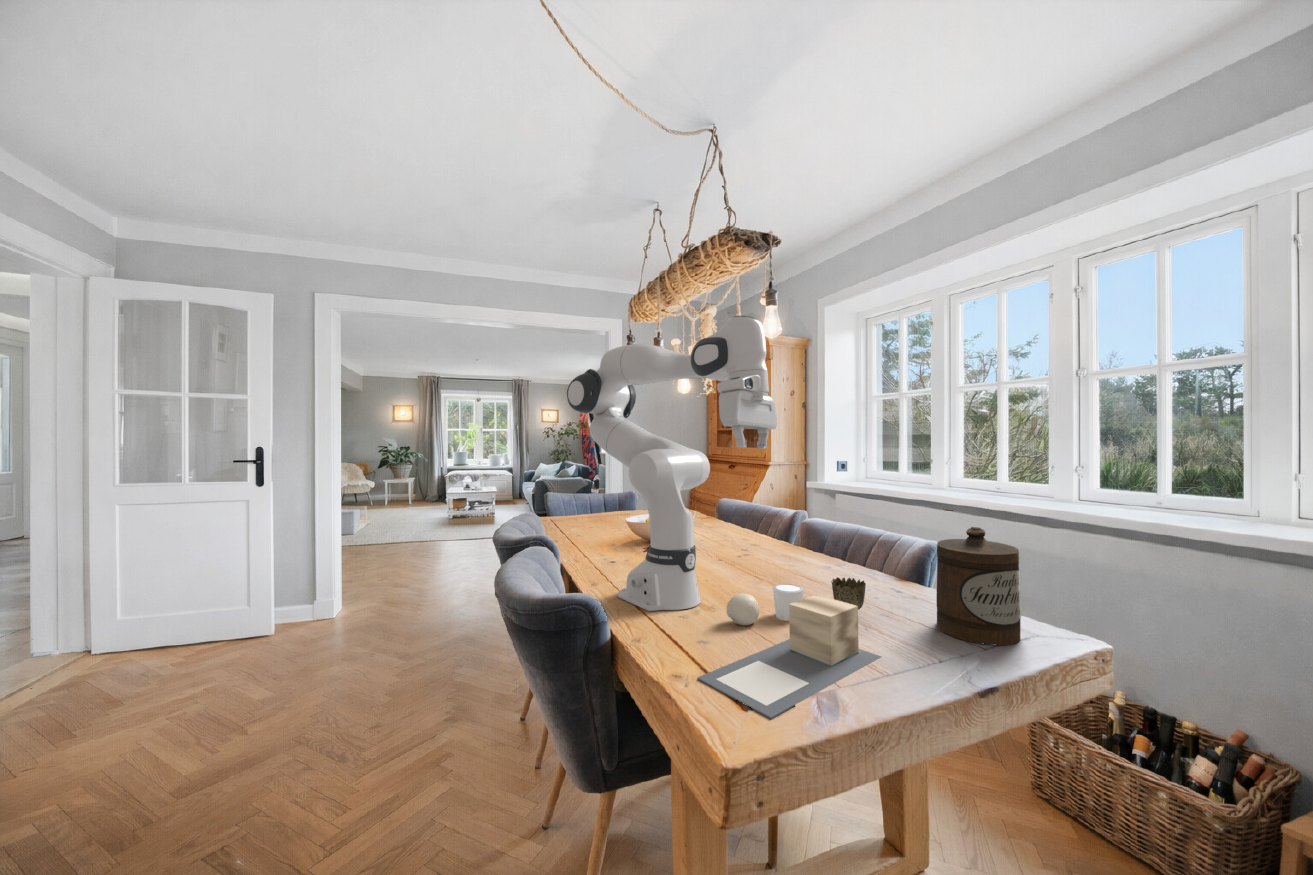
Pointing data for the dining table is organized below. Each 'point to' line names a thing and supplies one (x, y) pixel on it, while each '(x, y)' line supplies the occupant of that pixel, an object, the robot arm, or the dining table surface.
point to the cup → (849, 591)
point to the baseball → (743, 609)
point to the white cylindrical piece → (786, 598)
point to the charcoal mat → (780, 678)
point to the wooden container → (978, 589)
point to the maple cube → (824, 629)
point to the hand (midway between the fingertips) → (752, 448)
